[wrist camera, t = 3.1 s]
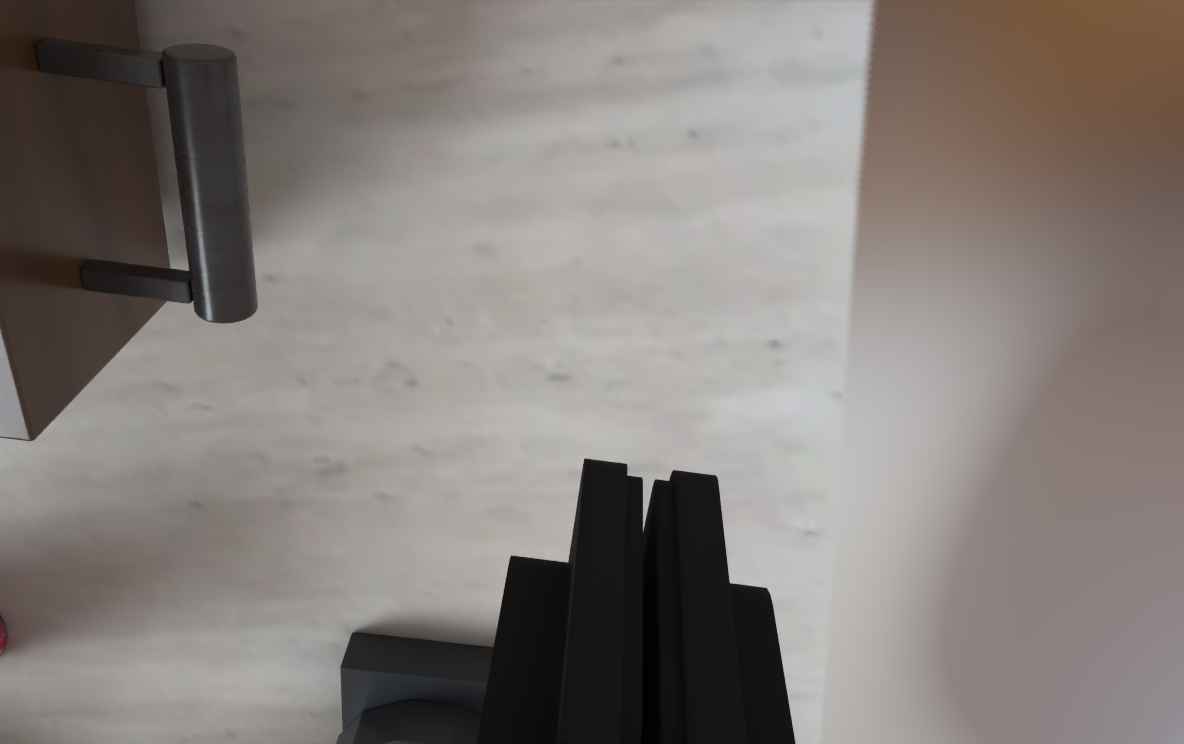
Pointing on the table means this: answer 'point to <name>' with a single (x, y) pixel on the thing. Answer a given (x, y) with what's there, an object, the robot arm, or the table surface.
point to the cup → (2, 636)
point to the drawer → (107, 196)
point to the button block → (412, 691)
